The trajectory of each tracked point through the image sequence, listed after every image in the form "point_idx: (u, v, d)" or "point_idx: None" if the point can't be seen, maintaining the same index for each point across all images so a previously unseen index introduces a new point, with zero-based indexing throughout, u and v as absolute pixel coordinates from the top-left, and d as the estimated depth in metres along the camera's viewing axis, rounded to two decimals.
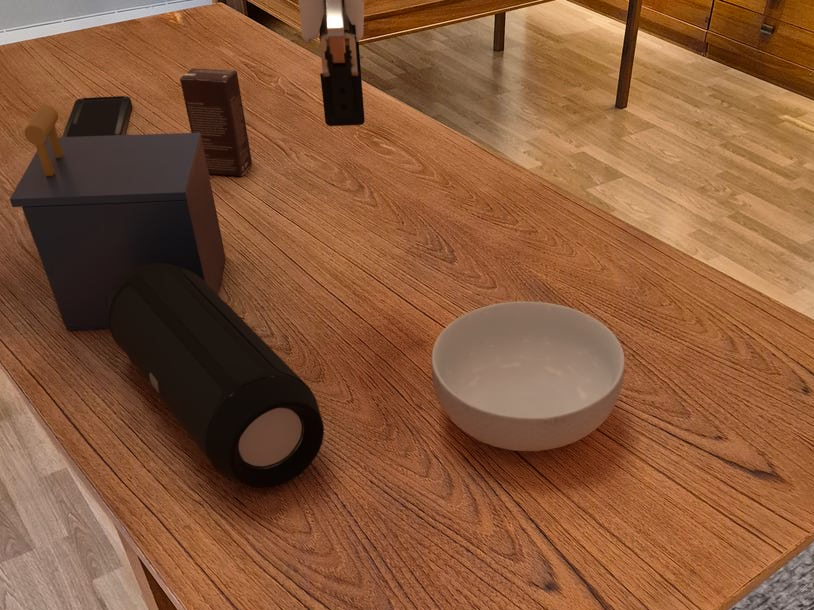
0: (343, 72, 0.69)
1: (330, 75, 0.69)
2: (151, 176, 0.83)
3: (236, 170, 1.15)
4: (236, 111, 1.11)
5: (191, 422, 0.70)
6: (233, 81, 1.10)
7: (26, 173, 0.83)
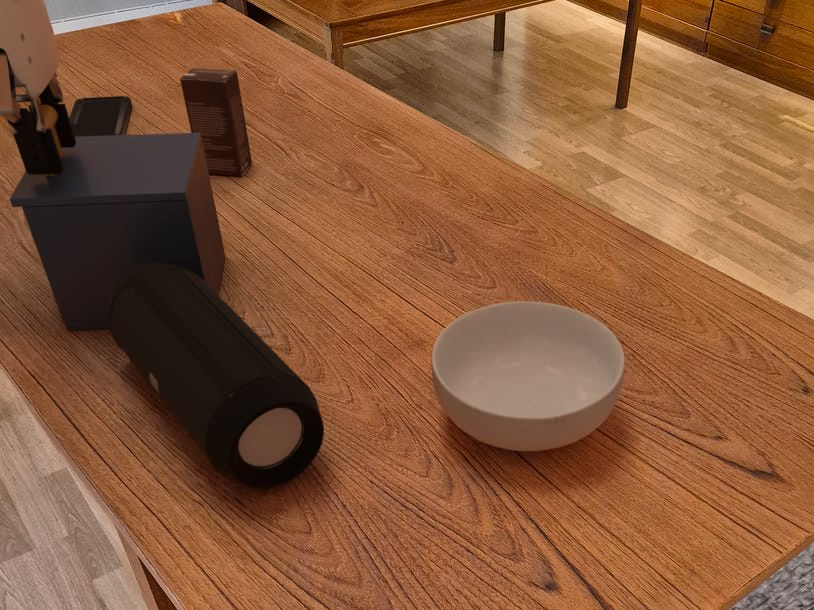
0: (28, 129, 0.78)
1: (18, 132, 0.78)
2: (151, 176, 0.83)
3: (236, 170, 1.15)
4: (236, 111, 1.11)
5: (191, 422, 0.70)
6: (233, 81, 1.10)
7: (26, 173, 0.83)
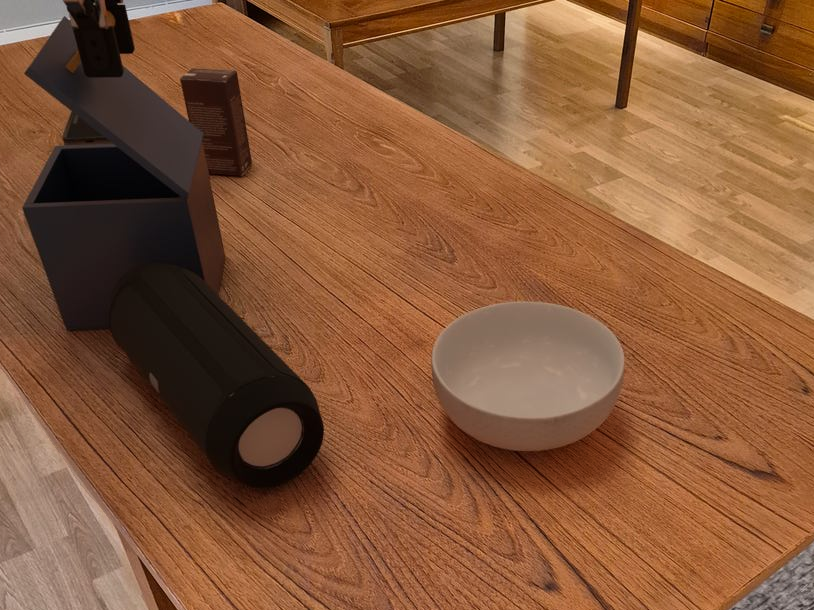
0: (90, 24, 0.73)
1: (79, 27, 0.73)
2: (160, 150, 0.82)
3: (236, 170, 1.15)
4: (236, 111, 1.11)
5: (191, 422, 0.70)
6: (233, 81, 1.10)
7: (46, 48, 0.76)
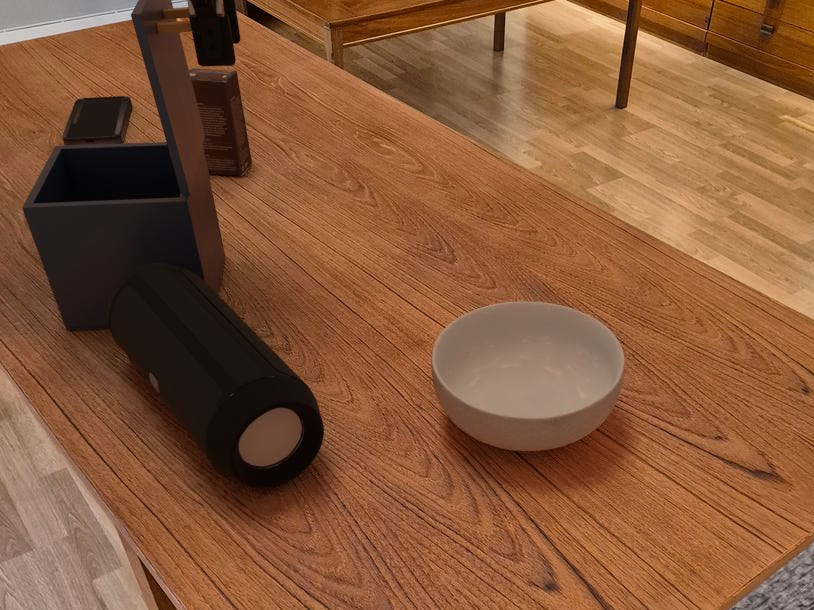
0: (208, 13, 0.74)
1: (197, 16, 0.74)
2: (185, 141, 0.82)
3: (236, 170, 1.15)
4: (236, 111, 1.11)
5: (191, 422, 0.70)
6: (233, 81, 1.10)
7: None
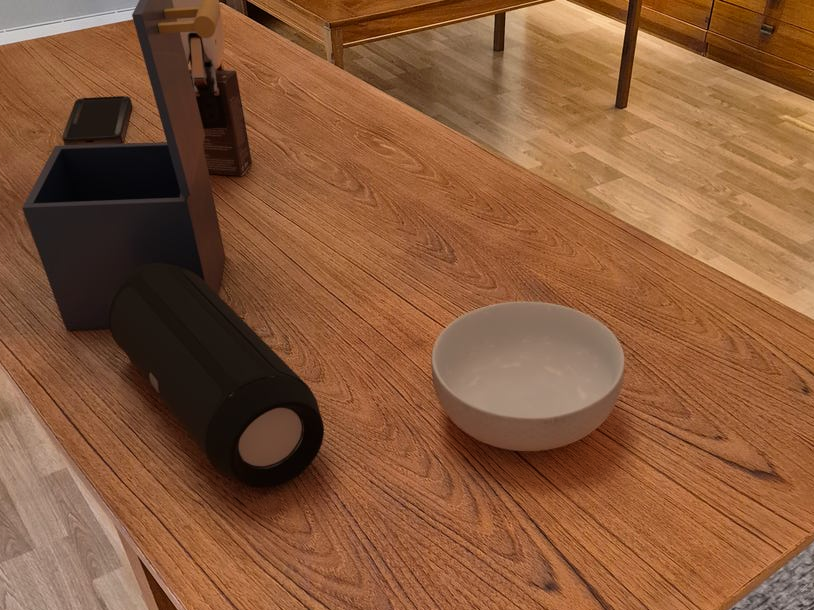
0: (208, 93, 1.06)
1: (200, 95, 1.07)
2: (185, 141, 0.82)
3: (236, 170, 1.15)
4: (236, 111, 1.11)
5: (191, 422, 0.70)
6: (232, 81, 1.09)
7: None
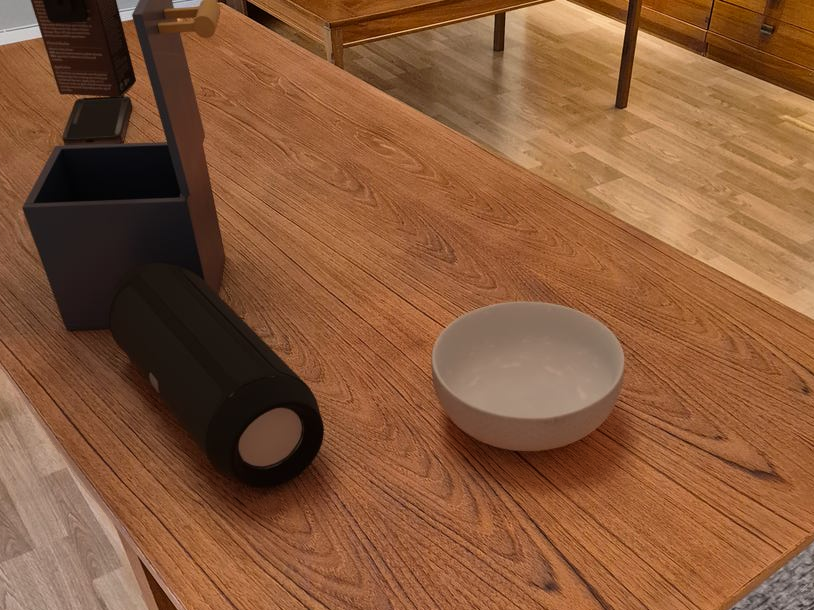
0: None
1: None
2: (185, 141, 0.82)
3: (111, 89, 0.81)
4: (104, 1, 0.77)
5: (191, 422, 0.70)
6: None
7: None
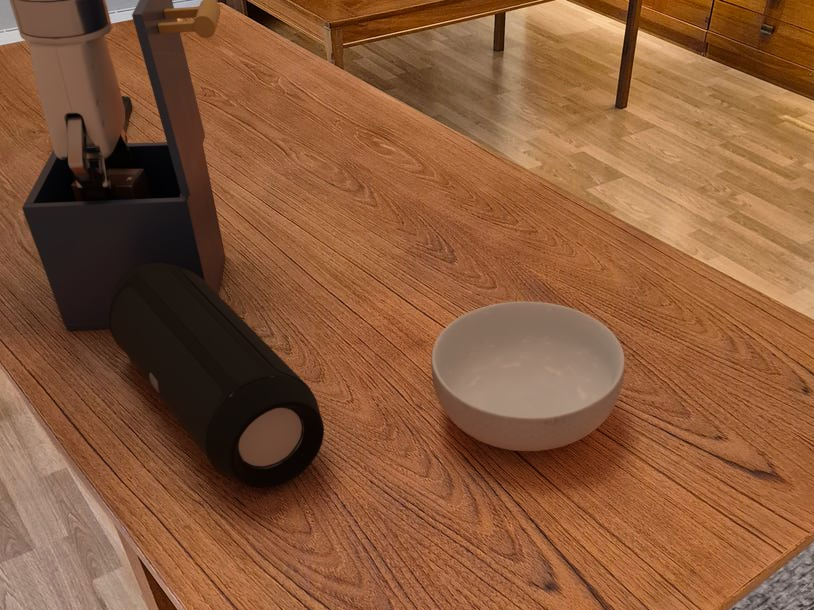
0: (94, 187, 0.81)
1: (84, 189, 0.81)
2: (185, 141, 0.82)
3: None
4: None
5: (191, 422, 0.70)
6: (141, 183, 0.87)
7: None
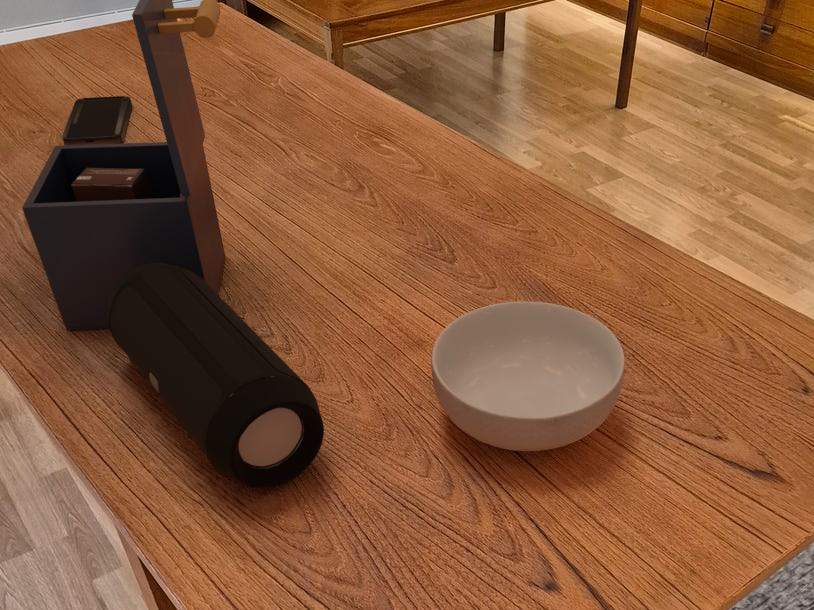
0: None
1: None
2: (185, 141, 0.82)
3: None
4: None
5: (191, 422, 0.70)
6: (141, 183, 0.87)
7: None
